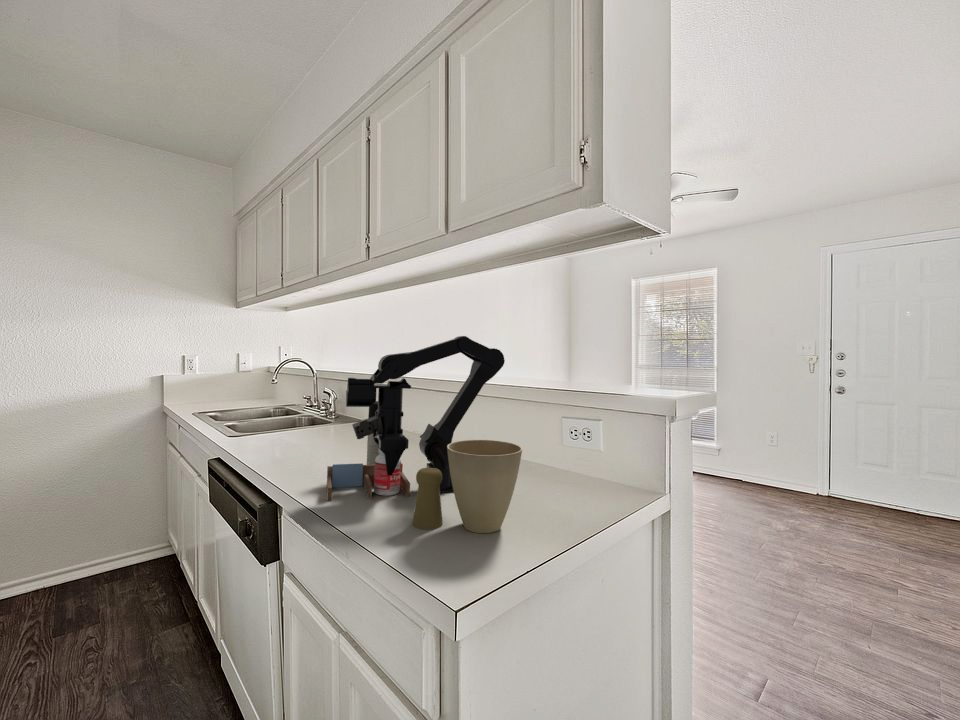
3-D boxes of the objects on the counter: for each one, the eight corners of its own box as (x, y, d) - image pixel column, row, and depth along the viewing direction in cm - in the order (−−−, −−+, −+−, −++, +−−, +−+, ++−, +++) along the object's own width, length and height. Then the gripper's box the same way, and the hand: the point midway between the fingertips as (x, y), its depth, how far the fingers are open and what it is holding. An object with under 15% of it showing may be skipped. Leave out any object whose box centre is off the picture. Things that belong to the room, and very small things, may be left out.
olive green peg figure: (437, 530, 88) (439, 473, 88) (407, 527, 89) (409, 470, 89) (446, 520, 94) (448, 466, 94) (418, 516, 95) (420, 463, 95)
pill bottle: (392, 497, 107) (393, 450, 107) (368, 494, 109) (370, 447, 109) (404, 490, 113) (405, 445, 113) (382, 487, 115) (383, 443, 115)
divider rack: (401, 482, 120) (402, 461, 120) (409, 496, 109) (410, 472, 109) (326, 486, 114) (327, 463, 113) (327, 501, 103) (328, 476, 103)
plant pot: (459, 509, 101) (462, 437, 101) (526, 519, 96) (529, 443, 96) (431, 534, 87) (434, 449, 86) (508, 547, 82) (512, 458, 82)
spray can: (396, 474, 127) (398, 402, 127) (378, 479, 121) (381, 404, 121) (378, 470, 131) (381, 400, 130) (360, 475, 125) (363, 401, 125)
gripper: (352, 402, 117) (350, 463, 117) (358, 412, 99) (356, 484, 99) (396, 402, 120) (394, 461, 121) (410, 411, 103) (407, 481, 103)
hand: (387, 471), depth 111 cm, fingers closed on pill bottle, 6 cm apart
